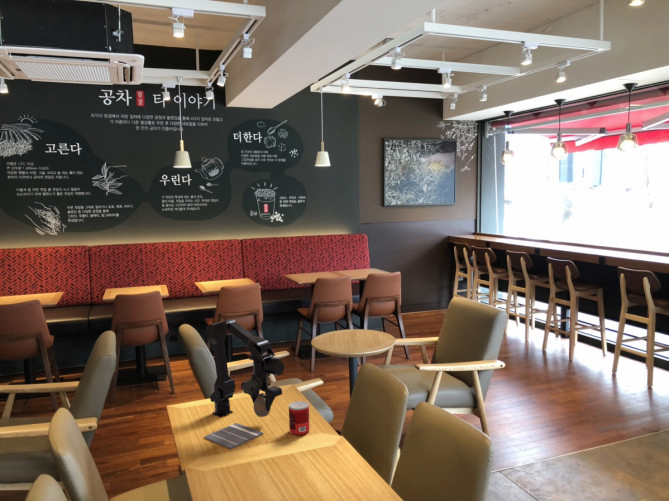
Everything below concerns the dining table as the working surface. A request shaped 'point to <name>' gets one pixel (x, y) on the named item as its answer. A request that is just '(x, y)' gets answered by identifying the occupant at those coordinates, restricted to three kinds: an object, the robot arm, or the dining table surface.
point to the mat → (233, 435)
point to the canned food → (299, 418)
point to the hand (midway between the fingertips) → (261, 408)
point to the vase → (260, 406)
